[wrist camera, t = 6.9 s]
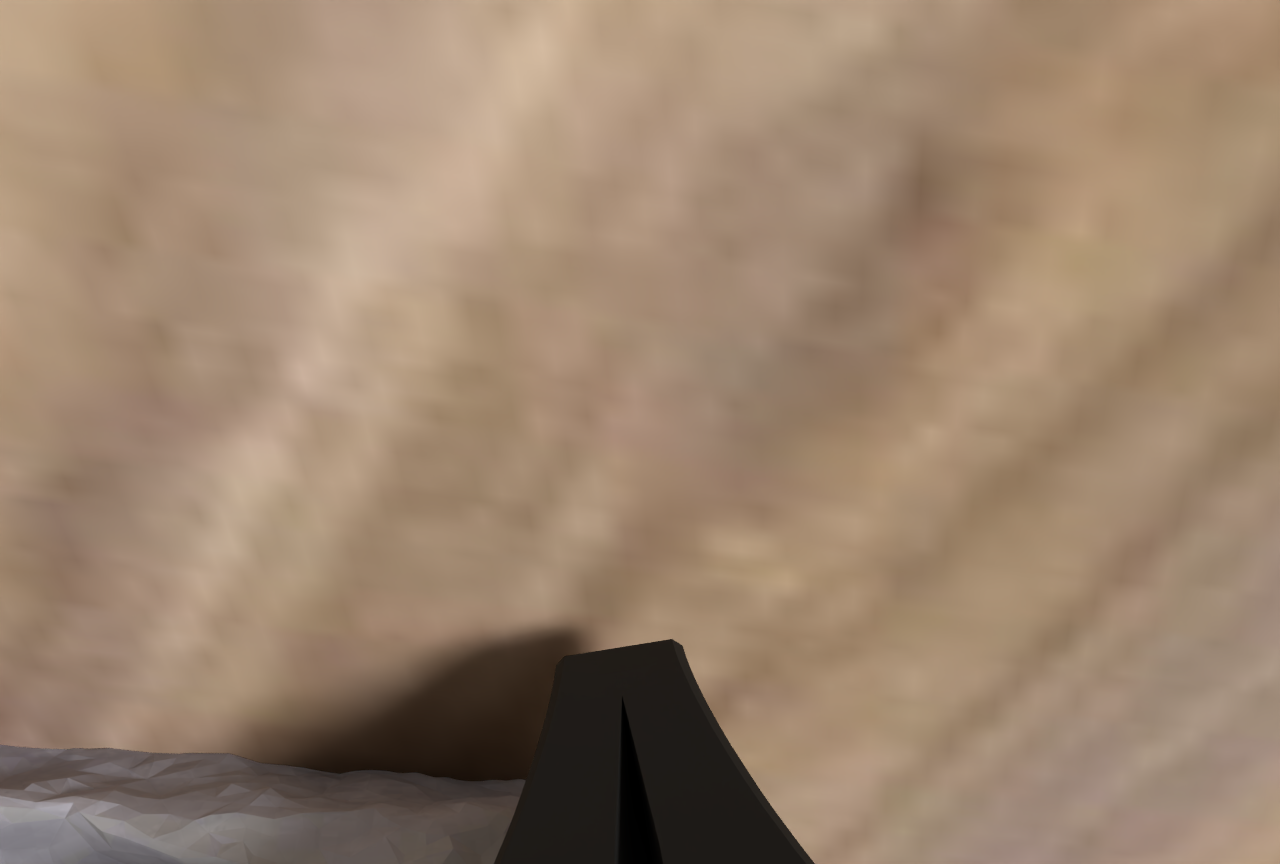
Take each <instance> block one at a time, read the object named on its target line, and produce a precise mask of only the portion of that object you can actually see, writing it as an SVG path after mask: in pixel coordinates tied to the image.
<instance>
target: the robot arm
mask: <svg viewBox="0 0 1280 864" xmlns="http://www.w3.org/2000/svg"><path fill="white" fill-rule="evenodd" d="M494 864H815V863H814V862H813V861H812V860H811V858H810V857H809V856H808V855H807V853H806V852H805V851H804V849H803V848H802V847H801V846H800V844H799V843H798V842H797V840H796V839H795V837H794V836H793V835H792V833H791V832H790V831H789V829H788V828H787V827H786V825H785V824H784V823H783V821H782V820H781V819H780V817H779V816H778V815H777V813H776V812H775V811H774V809H773V808H772V806H771V805H770V803H769V802H768V801H767V799H766V798H765V796H764V795H763V793H762V792H761V791H760V789H759V788H758V786H757V785H756V783H755V782H754V780H753V778H752V777H751V775H750V774H749V772H748V771H747V769H746V768H745V766H744V765H743V763H742V761H741V760H740V758H739V757H738V755H737V754H736V752H735V751H734V749H733V748H732V746H731V744H730V743H729V741H728V739H727V738H726V736H725V734H724V733H723V731H722V729H721V728H720V726H719V724H718V722H717V721H716V719H715V717H714V715H713V713H712V711H711V710H710V708H709V706H708V704H707V702H706V700H705V699H704V697H703V694H702V692H701V690H700V688H699V686H698V684H697V682H696V680H695V678H694V676H693V673H692V671H691V668H690V666H689V663H688V661H687V658H686V655H685V652H684V649H683V646H682V645H680V644H679V643H677V642H676V641H674V640H673V639H670V640H663V641H657V642H651V643H645V644H639V645H632V646H626V647H620V648H614V649H608V650H601V651H595V652H589V653H583V654H577V655H570V656H565V657H564V658H563V659H562V660H561V661H560V662H559V663H558V664H557V665H556V670H555V677H554V683H553V688H552V693H551V697H550V702H549V706H548V710H547V714H546V718H545V721H544V725H543V729H542V732H541V735H540V739H539V742H538V745H537V749H536V752H535V755H534V758H533V761H532V764H531V767H530V770H529V773H528V776H527V779H526V781H525V784H524V787H523V790H522V793H521V796H520V799H519V801H518V804H517V807H516V810H515V813H514V815H513V818H512V821H511V823H510V826H509V828H508V831H507V833H506V836H505V838H504V840H503V843H502V845H501V847H500V850H499V852H498V855H497V857H496V859H495V862H494Z"/></svg>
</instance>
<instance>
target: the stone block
mask: <svg viewBox="0 0 1280 864" xmlns="http://www.w3.org/2000/svg"><path fill="white" fill-rule="evenodd" d="M525 781H526V780H523V779H515V780H507V781H504V780H486V781H462V780H455V779H451V778H448V777H431V776H428V775H424V774H421V773H417V772H413V773H396V772H390V771H380V770H362V771H352V772H347V773H342V774H338V773H331V772H324V771H318V770H313V769H308V768H303V767H293V766H289V765H276V764H264V763H258V762H255V761H252V760H249V759H246V758H242V757H239V756H236V755H233V754H229V753H184V754H168V753H149V752H139V751H129V750H121V749H113V748H95V749H84V748H73V749H41V748H26V747H15V746H6V745H0V864H494V862H495V859H496V857H497V855H498V852H499V850H500V847H501V845H502V843H503V840H504V838H505V836H506V833H507V831H508V828H509V826H510V823H511V821H512V818H513V815H514V813H515V810H516V807H517V804H518V801H519V799H520V796H521V793H522V790H523V787H524V784H525Z"/></svg>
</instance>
